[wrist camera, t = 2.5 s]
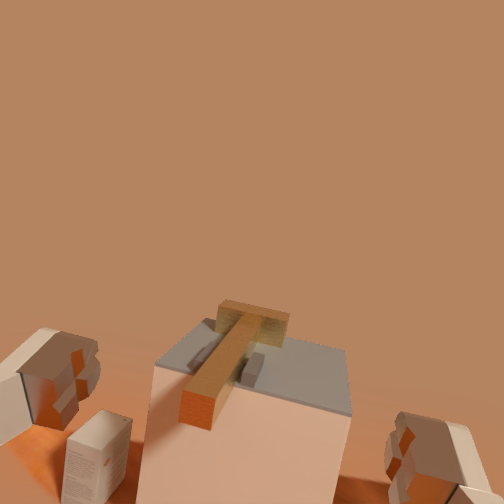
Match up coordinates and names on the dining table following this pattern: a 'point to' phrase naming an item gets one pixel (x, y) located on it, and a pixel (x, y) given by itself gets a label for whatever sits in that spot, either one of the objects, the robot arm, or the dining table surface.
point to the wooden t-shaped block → (229, 359)
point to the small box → (96, 459)
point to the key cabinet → (249, 427)
